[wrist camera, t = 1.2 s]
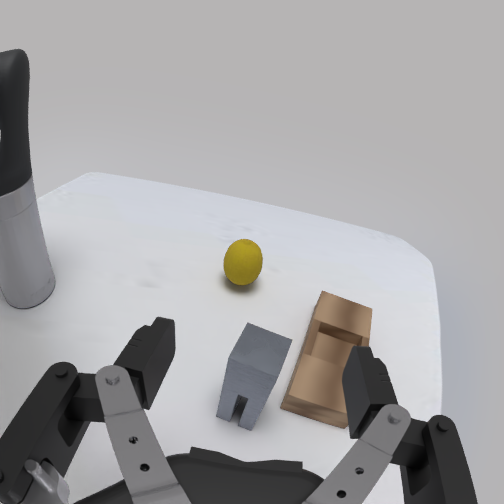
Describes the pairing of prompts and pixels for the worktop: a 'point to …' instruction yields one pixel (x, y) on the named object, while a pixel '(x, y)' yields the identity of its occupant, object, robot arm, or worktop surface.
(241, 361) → the block
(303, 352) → the wooden slotted base
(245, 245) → the lemon
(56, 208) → the worktop surface
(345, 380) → the robot arm
